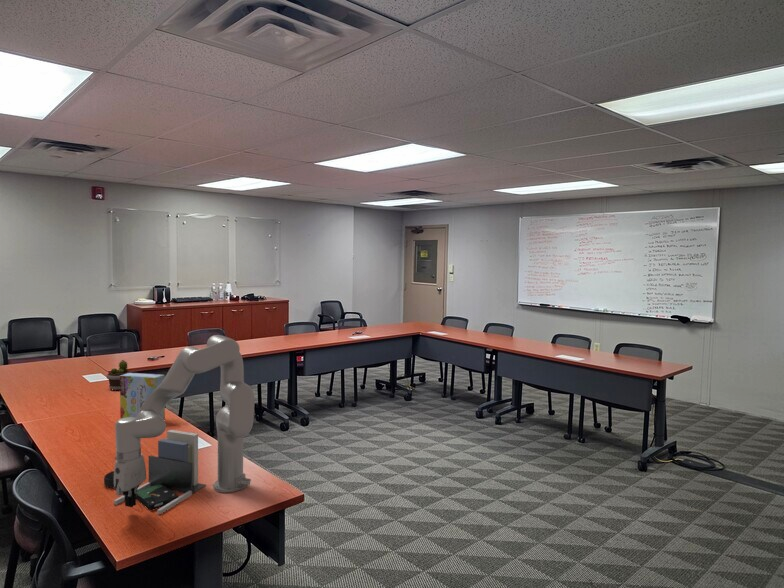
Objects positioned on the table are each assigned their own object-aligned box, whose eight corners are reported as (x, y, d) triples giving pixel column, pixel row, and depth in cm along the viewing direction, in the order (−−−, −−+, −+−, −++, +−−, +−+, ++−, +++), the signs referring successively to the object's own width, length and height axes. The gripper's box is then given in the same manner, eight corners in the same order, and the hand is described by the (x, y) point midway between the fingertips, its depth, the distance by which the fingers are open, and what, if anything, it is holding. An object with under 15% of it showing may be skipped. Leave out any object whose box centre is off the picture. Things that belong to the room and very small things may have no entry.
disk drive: (179, 502, 185) (160, 489, 195) (179, 495, 185) (160, 482, 195) (150, 512, 177) (132, 498, 187) (150, 505, 177) (132, 491, 187)
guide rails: (191, 494, 190) (191, 490, 190) (160, 514, 175) (160, 510, 175) (148, 485, 197) (148, 482, 196) (113, 504, 181) (113, 500, 181)
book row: (198, 483, 199) (198, 433, 198) (184, 491, 192) (184, 440, 191) (171, 478, 203) (171, 429, 202) (157, 486, 196) (157, 435, 195)
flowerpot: (118, 393, 326) (118, 362, 325) (101, 390, 332) (100, 360, 330) (137, 388, 340) (137, 358, 339) (120, 385, 345) (120, 356, 344)
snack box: (166, 421, 274) (166, 374, 272) (155, 426, 265) (155, 377, 264) (130, 418, 278) (129, 371, 276) (119, 422, 269) (118, 375, 267)
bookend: (206, 485, 198) (206, 455, 198) (191, 494, 190) (191, 463, 189) (164, 477, 204) (164, 448, 204) (148, 486, 196) (148, 455, 196)
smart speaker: (119, 490, 193) (119, 479, 193) (98, 487, 194) (98, 477, 194) (135, 480, 202) (134, 470, 201) (115, 477, 203) (115, 468, 203)
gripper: (119, 464, 165) (121, 518, 167) (153, 447, 179) (155, 497, 181) (101, 461, 168) (103, 514, 169) (137, 444, 182) (138, 494, 183)
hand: (130, 505), depth 175 cm, fingers closed
